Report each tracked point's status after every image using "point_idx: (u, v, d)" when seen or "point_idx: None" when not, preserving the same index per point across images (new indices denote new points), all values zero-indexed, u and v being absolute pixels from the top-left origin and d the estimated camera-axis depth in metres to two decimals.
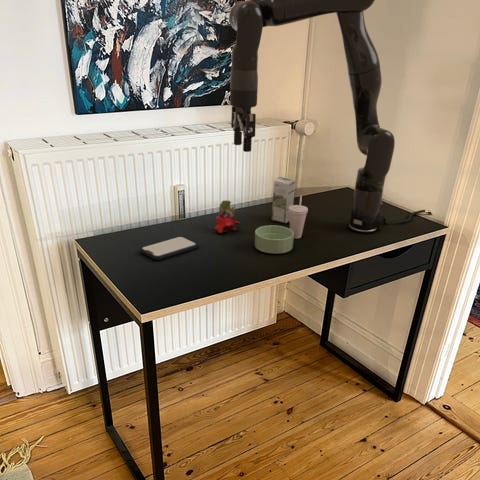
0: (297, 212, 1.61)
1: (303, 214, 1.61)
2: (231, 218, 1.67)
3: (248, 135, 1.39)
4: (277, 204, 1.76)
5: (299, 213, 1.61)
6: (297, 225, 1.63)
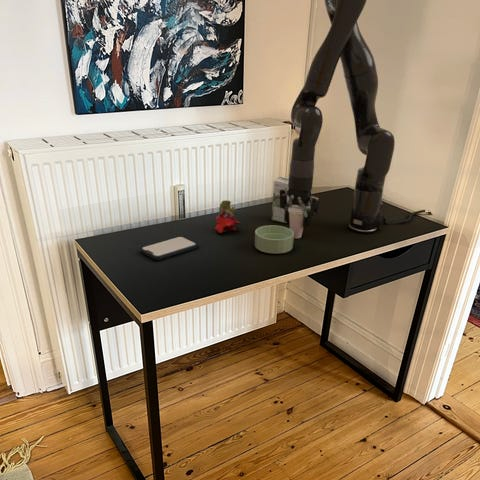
0: (297, 212, 1.61)
1: (303, 214, 1.61)
2: (231, 218, 1.67)
3: (313, 215, 1.59)
4: (277, 204, 1.76)
5: (299, 213, 1.61)
6: (297, 225, 1.63)
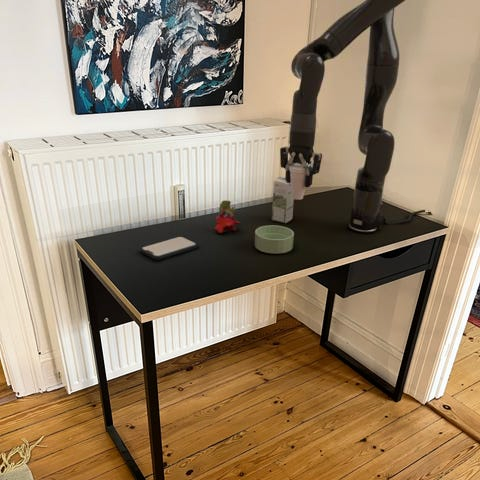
0: (298, 170, 1.53)
1: (305, 173, 1.54)
2: (231, 218, 1.67)
3: (315, 173, 1.52)
4: (277, 204, 1.76)
5: (301, 172, 1.53)
6: (299, 185, 1.56)
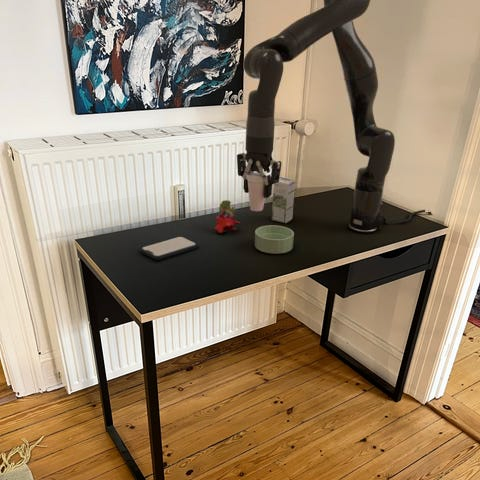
0: (256, 179, 1.38)
1: (263, 182, 1.39)
2: (231, 218, 1.67)
3: (274, 182, 1.37)
4: (277, 204, 1.76)
5: (259, 181, 1.38)
6: (257, 195, 1.41)
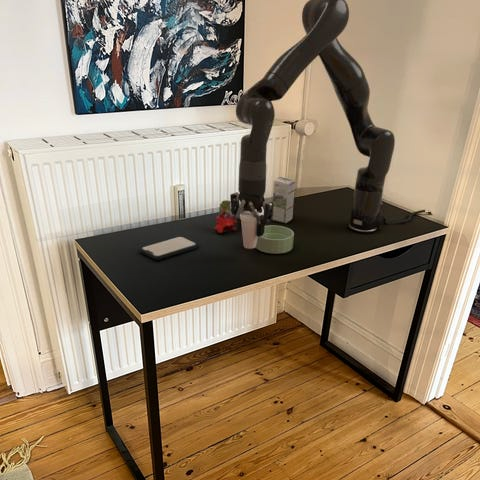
0: (249, 219, 1.42)
1: (256, 221, 1.43)
2: (231, 218, 1.67)
3: (266, 222, 1.41)
4: (277, 204, 1.76)
5: (252, 221, 1.42)
6: (250, 234, 1.45)
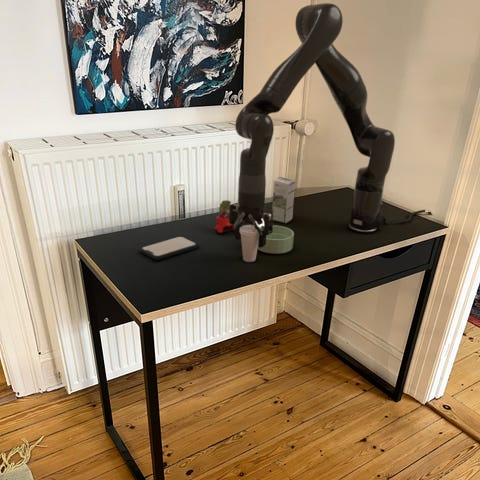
0: (248, 233, 1.44)
1: (255, 235, 1.45)
2: None
3: (268, 233, 1.42)
4: (277, 204, 1.76)
5: (251, 235, 1.44)
6: (250, 248, 1.47)
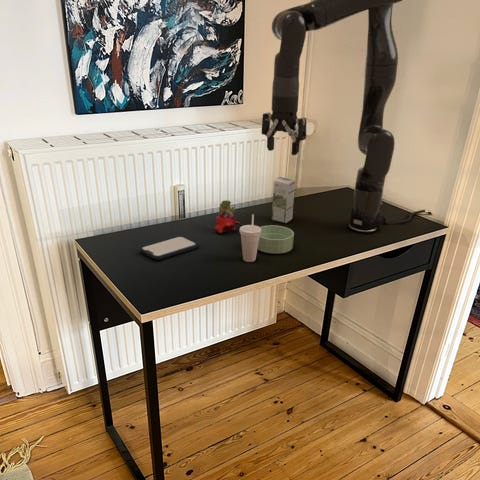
0: (248, 233, 1.44)
1: (255, 235, 1.45)
2: (231, 218, 1.67)
3: (302, 139, 1.45)
4: (277, 204, 1.76)
5: (251, 235, 1.44)
6: (250, 248, 1.47)
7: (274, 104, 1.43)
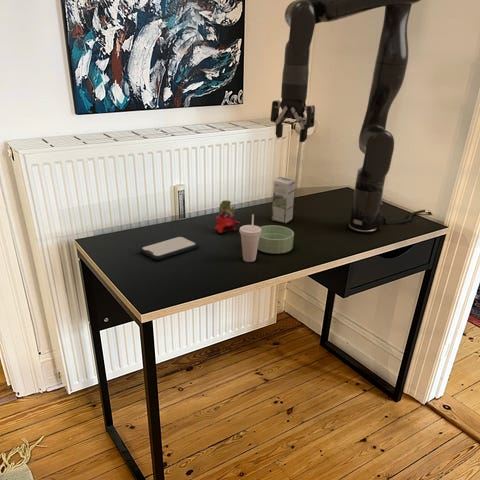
0: (248, 233, 1.44)
1: (255, 235, 1.45)
2: (231, 218, 1.67)
3: (310, 126, 1.48)
4: (277, 204, 1.76)
5: (251, 235, 1.44)
6: (250, 248, 1.47)
7: (284, 91, 1.46)
